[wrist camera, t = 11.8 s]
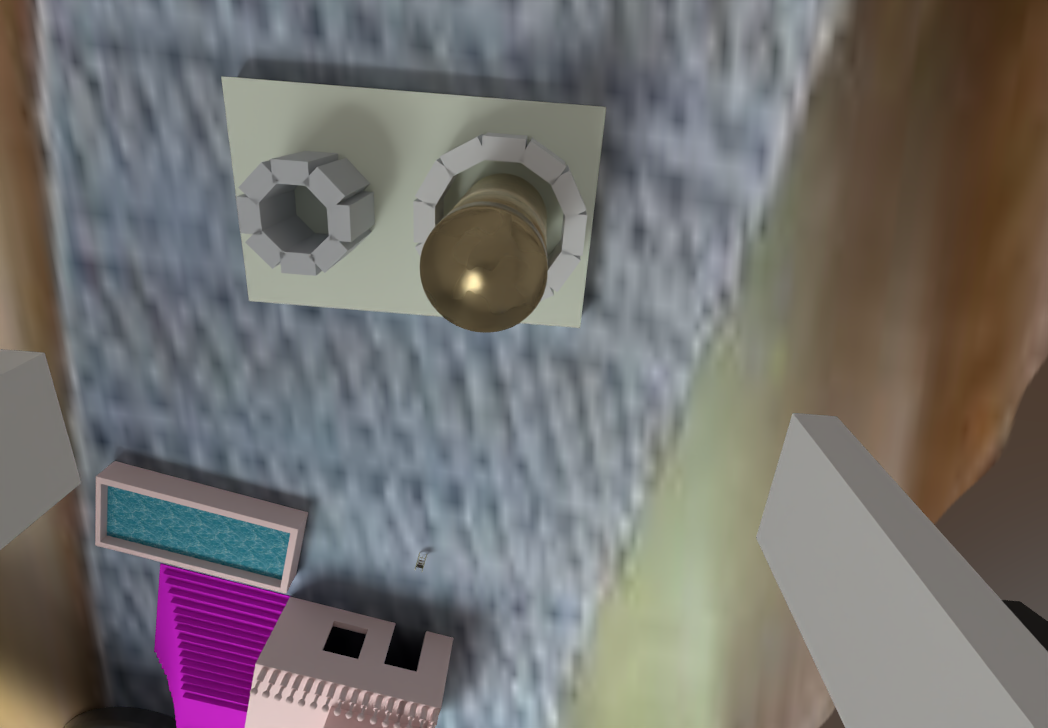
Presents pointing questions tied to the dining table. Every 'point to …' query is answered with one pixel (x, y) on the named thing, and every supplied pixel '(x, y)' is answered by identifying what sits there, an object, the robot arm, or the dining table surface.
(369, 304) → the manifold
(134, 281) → the dining table surface
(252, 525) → the model house
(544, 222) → the cylinder
